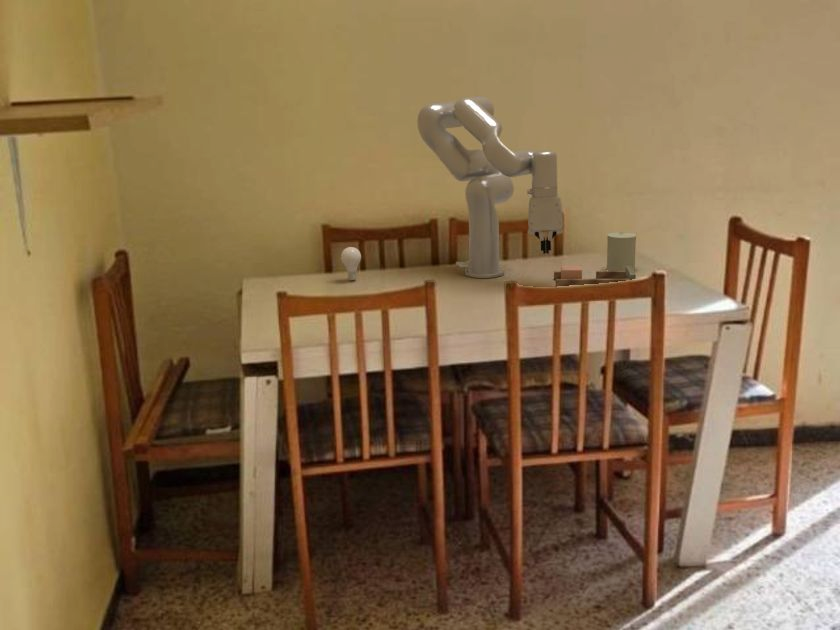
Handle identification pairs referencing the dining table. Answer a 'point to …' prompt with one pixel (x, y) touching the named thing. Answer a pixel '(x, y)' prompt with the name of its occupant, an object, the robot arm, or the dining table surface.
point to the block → (571, 272)
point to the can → (620, 251)
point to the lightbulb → (351, 261)
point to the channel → (597, 277)
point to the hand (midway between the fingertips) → (545, 252)
